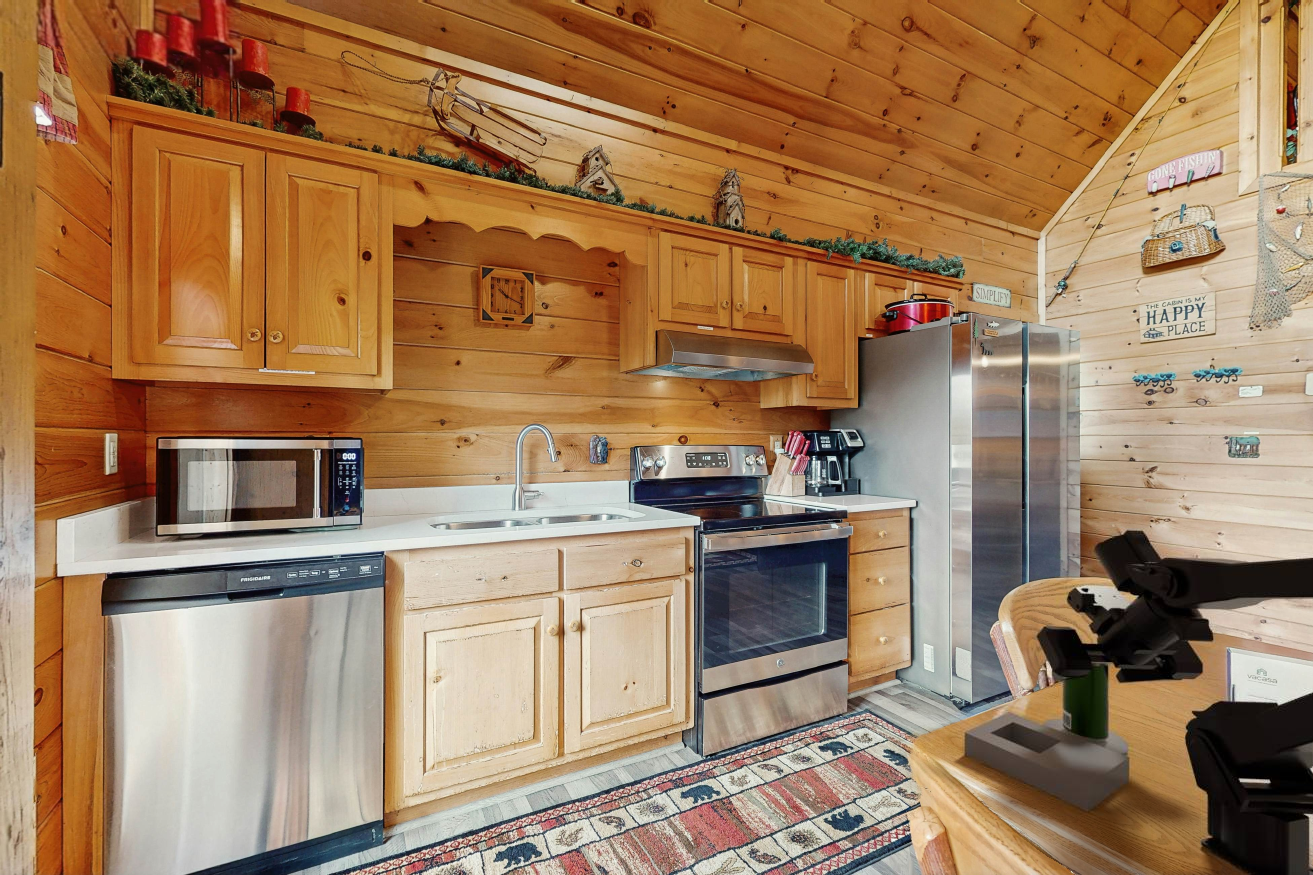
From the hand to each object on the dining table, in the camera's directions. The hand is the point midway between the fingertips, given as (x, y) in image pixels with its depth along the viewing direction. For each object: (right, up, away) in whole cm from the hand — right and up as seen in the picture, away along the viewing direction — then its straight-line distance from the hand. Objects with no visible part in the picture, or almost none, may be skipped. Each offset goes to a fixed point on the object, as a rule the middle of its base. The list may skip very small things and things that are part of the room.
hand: (1086, 678), depth 84 cm
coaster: (0, -9, 0) cm, 9 cm away
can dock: (-12, -9, -7) cm, 16 cm away
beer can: (0, -8, 0) cm, 8 cm away
